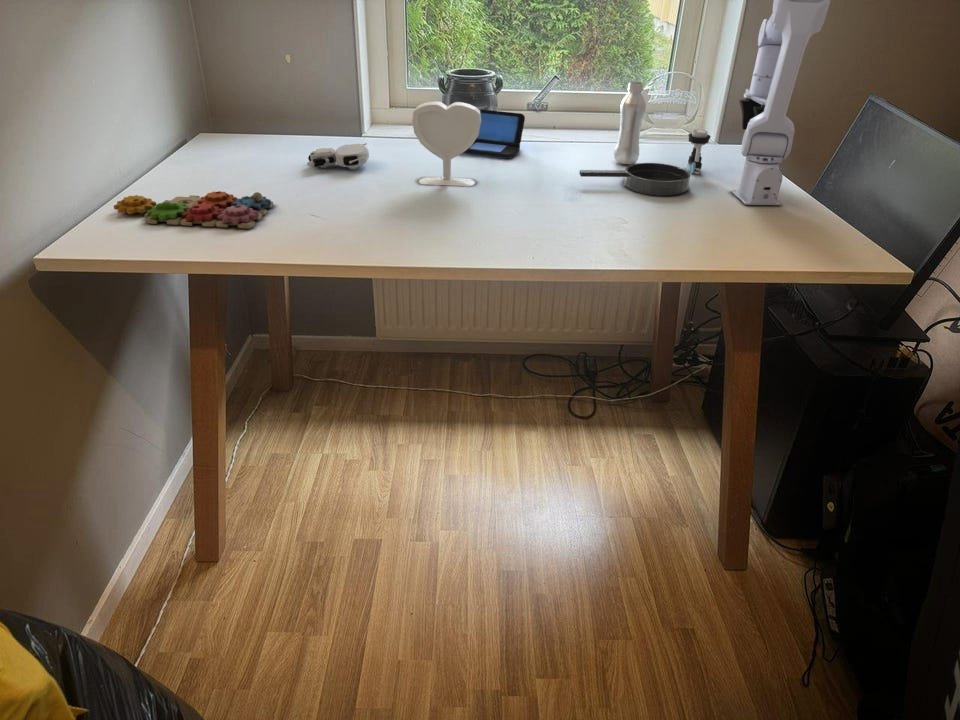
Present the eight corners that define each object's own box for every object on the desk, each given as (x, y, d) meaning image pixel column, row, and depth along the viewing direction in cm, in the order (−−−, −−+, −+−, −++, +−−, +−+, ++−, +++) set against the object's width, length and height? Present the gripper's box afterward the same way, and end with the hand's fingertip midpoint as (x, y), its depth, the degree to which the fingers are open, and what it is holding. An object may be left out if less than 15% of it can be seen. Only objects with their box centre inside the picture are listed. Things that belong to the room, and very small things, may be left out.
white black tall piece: (707, 176, 174) (715, 135, 168) (686, 175, 173) (693, 135, 168) (700, 168, 179) (707, 128, 174) (679, 168, 179) (686, 128, 174)
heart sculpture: (413, 184, 163) (411, 104, 153) (415, 177, 167) (413, 99, 158) (479, 186, 163) (480, 106, 153) (479, 179, 167) (481, 102, 157)
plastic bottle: (636, 160, 184) (647, 80, 174) (639, 167, 178) (650, 86, 168) (612, 159, 185) (621, 79, 174) (613, 166, 179) (624, 84, 168)
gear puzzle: (99, 222, 138) (93, 202, 136) (140, 196, 151) (135, 178, 149) (251, 230, 136) (248, 210, 134) (278, 203, 149) (276, 185, 147)
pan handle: (626, 177, 163) (627, 172, 163) (580, 176, 163) (581, 172, 162) (624, 174, 165) (625, 170, 164) (579, 174, 164) (579, 169, 164)
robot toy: (307, 177, 168) (369, 172, 169) (304, 158, 166) (366, 153, 167) (312, 162, 178) (370, 157, 179) (309, 145, 176) (368, 140, 177)
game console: (455, 154, 186) (455, 118, 181) (470, 142, 196) (471, 108, 192) (511, 160, 182) (513, 124, 177) (524, 147, 193) (525, 113, 188)
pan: (695, 196, 160) (698, 181, 158) (631, 196, 159) (633, 181, 157) (677, 177, 172) (679, 163, 170) (617, 176, 172) (619, 162, 170)
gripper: (738, 70, 173) (726, 125, 180) (760, 80, 160) (747, 140, 167) (765, 70, 173) (753, 126, 180) (790, 81, 161) (775, 140, 168)
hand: (752, 133), depth 174 cm, fingers open, 7 cm apart
